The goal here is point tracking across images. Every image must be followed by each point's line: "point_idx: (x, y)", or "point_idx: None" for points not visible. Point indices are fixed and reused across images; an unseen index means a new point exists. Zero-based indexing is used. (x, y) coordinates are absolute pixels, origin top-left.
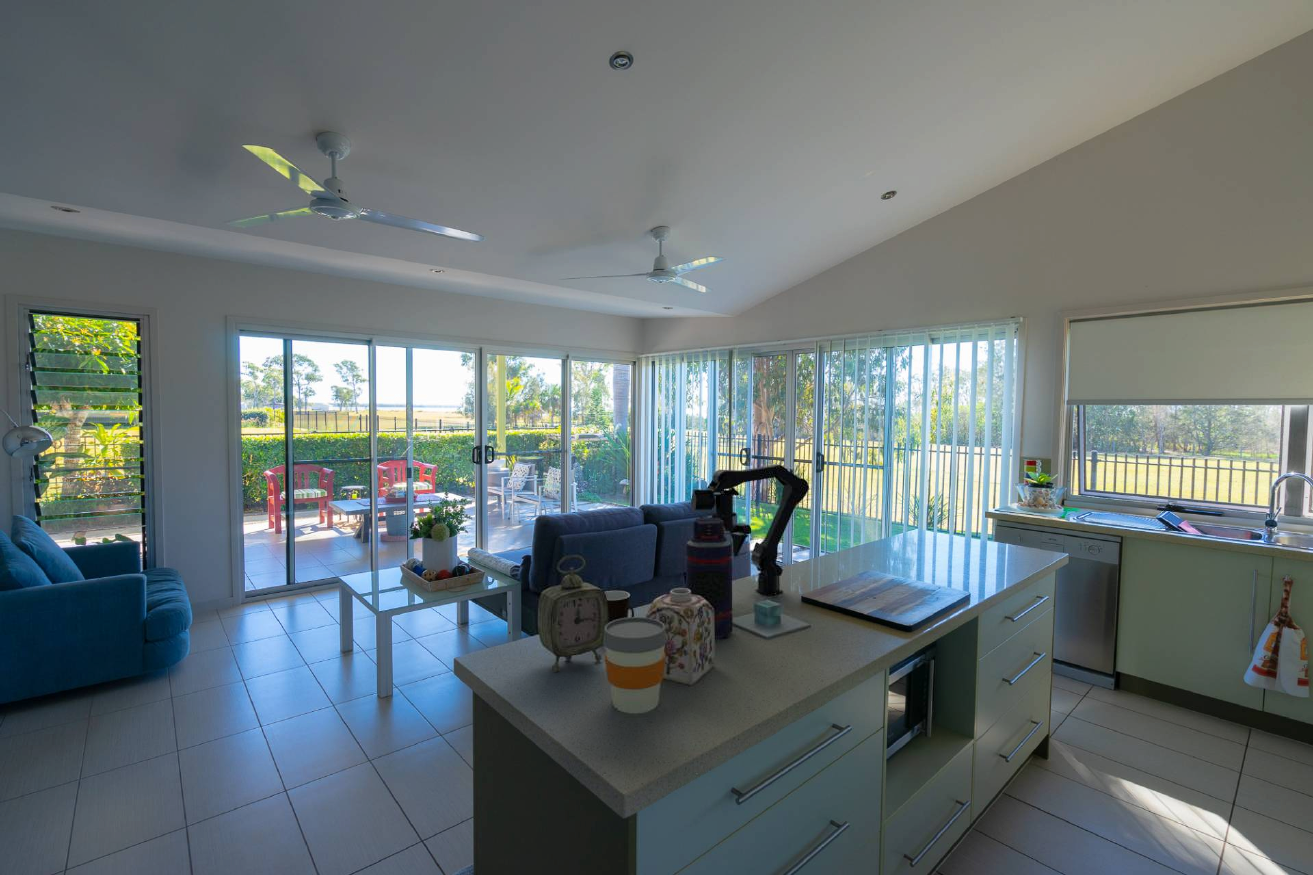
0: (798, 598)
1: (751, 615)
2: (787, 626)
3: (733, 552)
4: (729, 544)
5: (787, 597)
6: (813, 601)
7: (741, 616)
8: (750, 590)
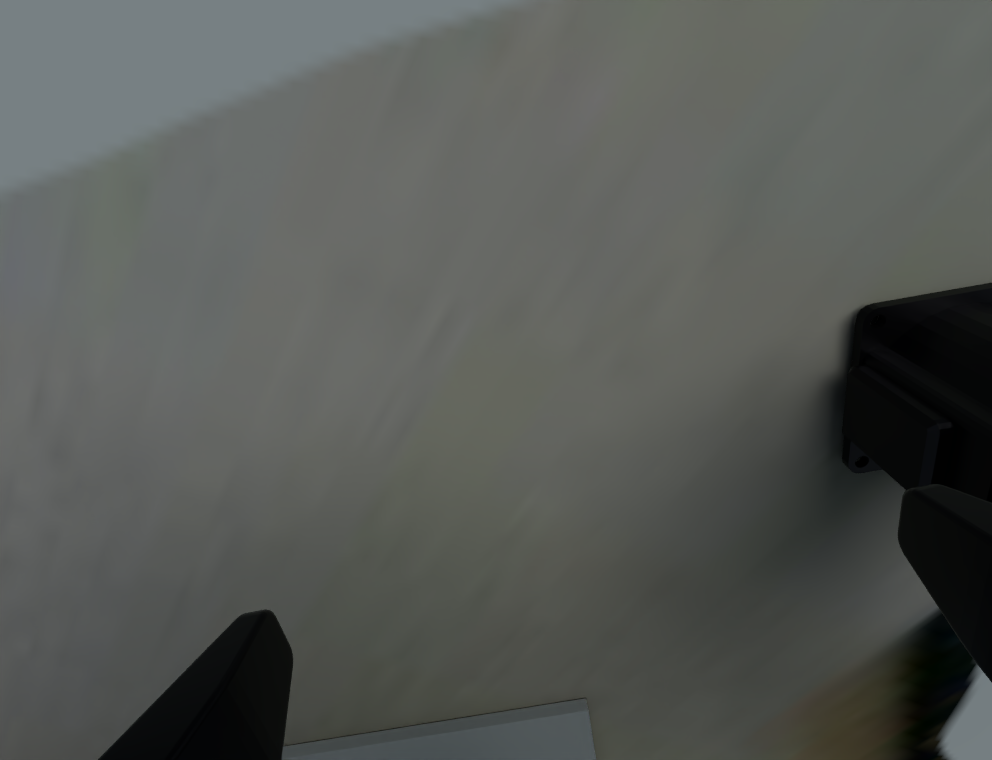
0: None
1: (424, 756)
2: None
3: (972, 536)
4: None
5: None
6: None
7: (358, 753)
8: (849, 250)
